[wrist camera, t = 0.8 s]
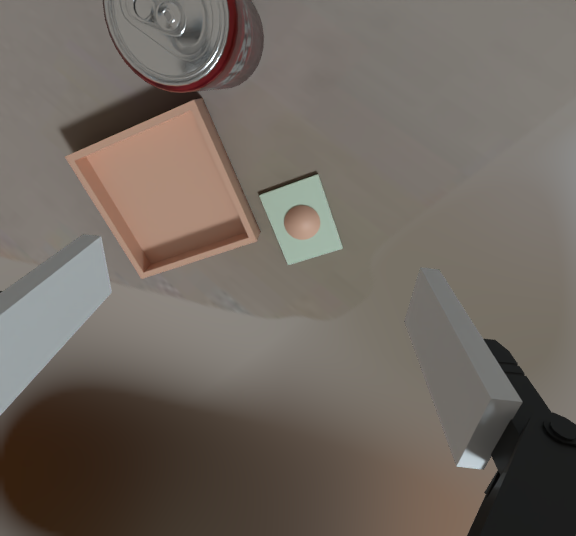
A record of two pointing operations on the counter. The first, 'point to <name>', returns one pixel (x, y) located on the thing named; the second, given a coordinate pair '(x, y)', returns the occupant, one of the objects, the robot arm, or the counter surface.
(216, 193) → the peach shallow tray
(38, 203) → the counter surface
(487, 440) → the robot arm
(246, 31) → the soda can
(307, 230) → the tile
